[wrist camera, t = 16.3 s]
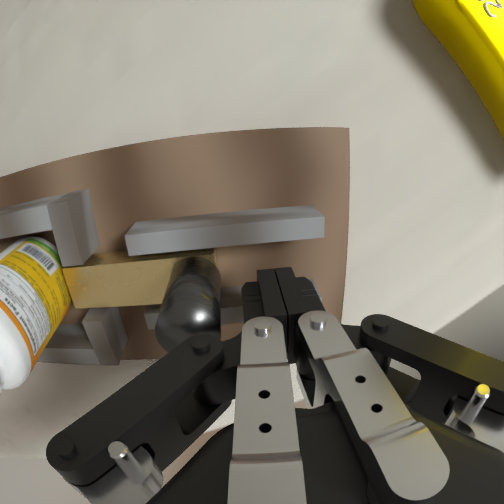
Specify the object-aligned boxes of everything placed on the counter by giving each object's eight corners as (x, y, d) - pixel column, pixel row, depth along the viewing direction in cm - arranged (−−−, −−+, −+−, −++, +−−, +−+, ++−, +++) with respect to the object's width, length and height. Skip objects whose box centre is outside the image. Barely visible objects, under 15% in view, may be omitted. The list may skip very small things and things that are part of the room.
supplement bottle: (26, 313, 17) (-44, 415, 8) (0, 239, 14) (-101, 324, 6) (89, 312, 17) (25, 439, 8) (64, 228, 15) (-48, 333, 6)
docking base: (22, 348, 19) (5, 375, 16) (-34, 189, 14) (-65, 203, 11) (335, 333, 20) (351, 366, 17) (343, 127, 15) (370, 130, 12)
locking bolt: (85, 293, 16) (44, 358, 11) (73, 255, 15) (22, 313, 10) (223, 283, 17) (224, 356, 11) (218, 241, 16) (216, 304, 10)
